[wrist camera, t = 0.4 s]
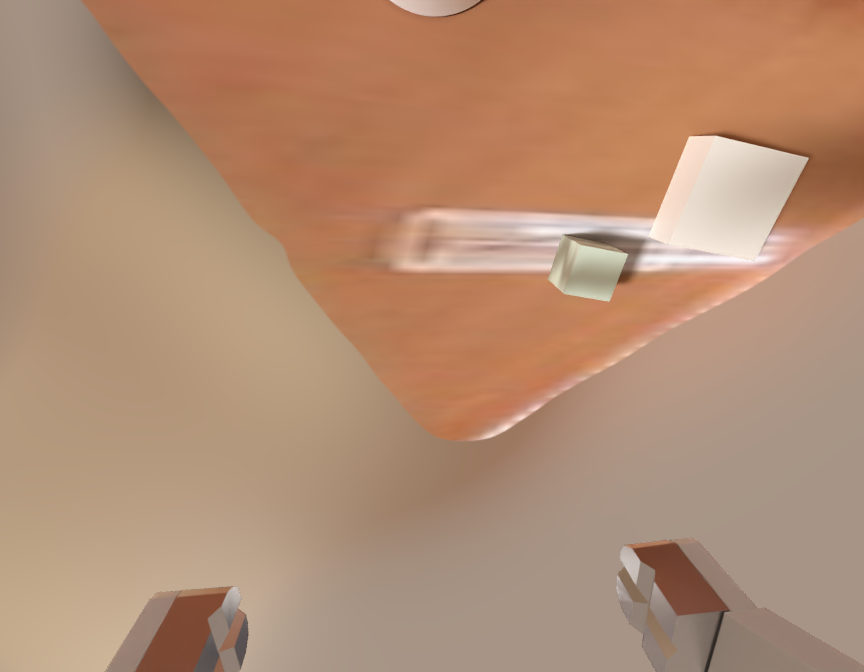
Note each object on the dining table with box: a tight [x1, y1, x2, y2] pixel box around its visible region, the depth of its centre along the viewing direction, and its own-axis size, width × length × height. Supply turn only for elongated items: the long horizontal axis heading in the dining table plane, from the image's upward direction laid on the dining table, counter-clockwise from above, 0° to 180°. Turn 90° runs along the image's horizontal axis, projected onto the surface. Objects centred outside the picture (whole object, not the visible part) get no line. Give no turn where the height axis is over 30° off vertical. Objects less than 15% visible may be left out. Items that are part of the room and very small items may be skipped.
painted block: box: [649, 136, 809, 261], centre depth 41 cm, size 10×10×4 cm
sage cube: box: [548, 235, 628, 301], centre depth 42 cm, size 5×5×5 cm
